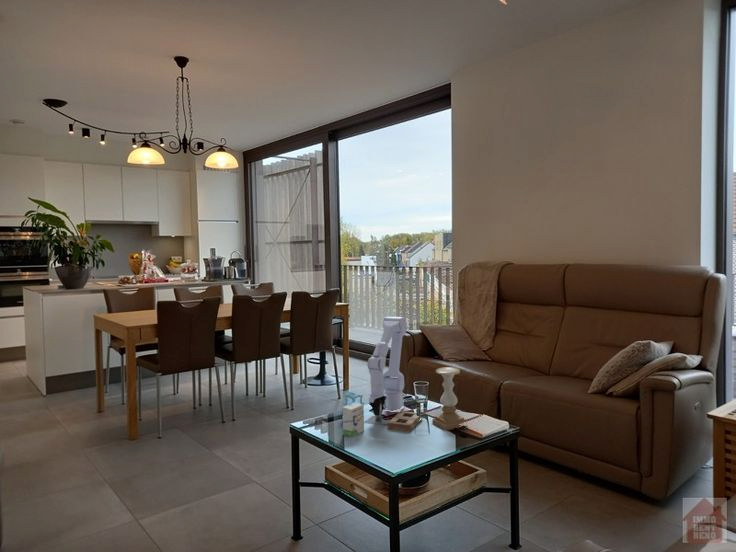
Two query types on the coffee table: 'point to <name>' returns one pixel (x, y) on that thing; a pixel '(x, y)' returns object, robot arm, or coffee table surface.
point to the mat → (372, 421)
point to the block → (403, 421)
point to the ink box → (353, 419)
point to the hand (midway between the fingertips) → (378, 413)
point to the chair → (352, 396)
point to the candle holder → (448, 401)
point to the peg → (379, 417)
